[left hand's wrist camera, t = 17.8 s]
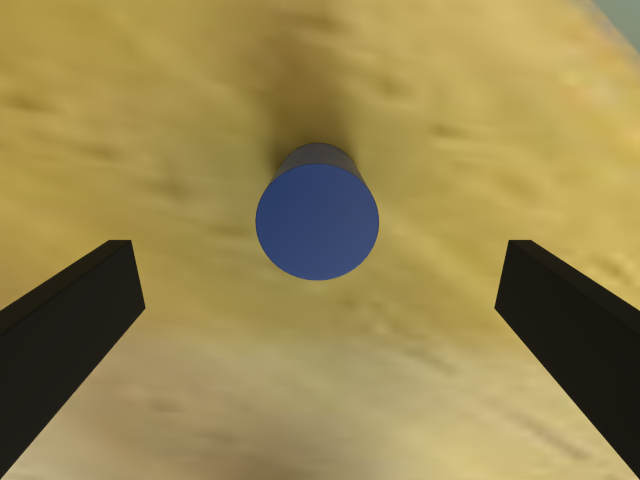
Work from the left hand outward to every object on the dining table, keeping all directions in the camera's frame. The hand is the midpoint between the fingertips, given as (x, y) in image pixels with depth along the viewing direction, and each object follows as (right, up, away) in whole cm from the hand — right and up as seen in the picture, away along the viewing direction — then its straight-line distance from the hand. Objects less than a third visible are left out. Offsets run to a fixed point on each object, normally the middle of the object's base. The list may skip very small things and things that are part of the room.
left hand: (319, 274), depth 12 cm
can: (0, +5, +13) cm, 14 cm away
